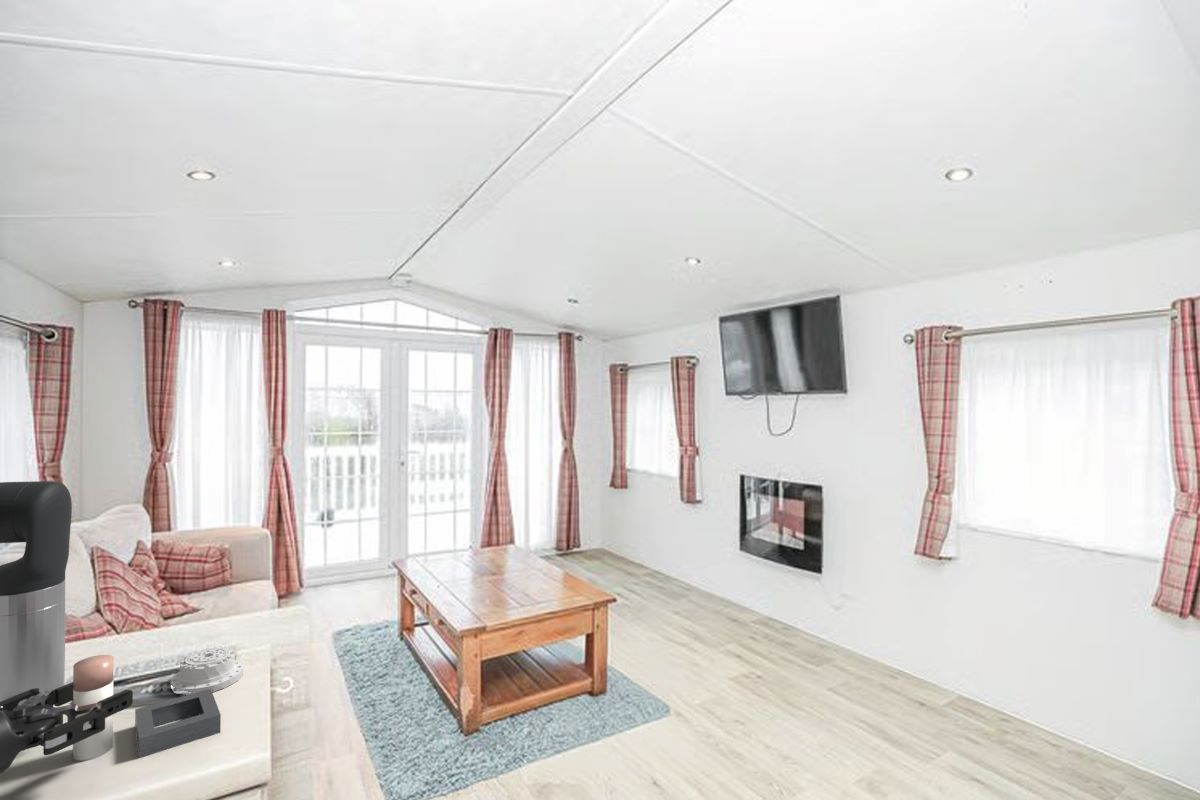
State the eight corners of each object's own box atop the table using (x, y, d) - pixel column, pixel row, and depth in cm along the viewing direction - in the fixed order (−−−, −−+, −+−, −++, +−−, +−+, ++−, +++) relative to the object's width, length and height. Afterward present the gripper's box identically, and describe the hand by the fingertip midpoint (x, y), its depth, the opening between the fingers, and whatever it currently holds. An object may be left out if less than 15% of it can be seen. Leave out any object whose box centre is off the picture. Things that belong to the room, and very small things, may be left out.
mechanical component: (154, 693, 92) (207, 701, 90) (154, 665, 92) (207, 673, 90) (207, 664, 102) (257, 671, 100) (208, 639, 102) (257, 645, 100)
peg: (73, 749, 77) (73, 660, 77) (112, 738, 80) (113, 651, 80) (72, 764, 74) (73, 672, 74) (113, 752, 77) (113, 662, 77)
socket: (135, 726, 83) (135, 709, 83) (210, 704, 89) (210, 688, 89) (138, 757, 76) (139, 738, 76) (220, 732, 82) (220, 714, 82)
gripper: (-18, 742, 61) (146, 672, 76) (-94, 715, 66) (75, 654, 81) (-18, 813, 61) (145, 728, 76) (-94, 780, 66) (75, 707, 81)
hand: (109, 690), depth 79 cm, fingers open, 8 cm apart
